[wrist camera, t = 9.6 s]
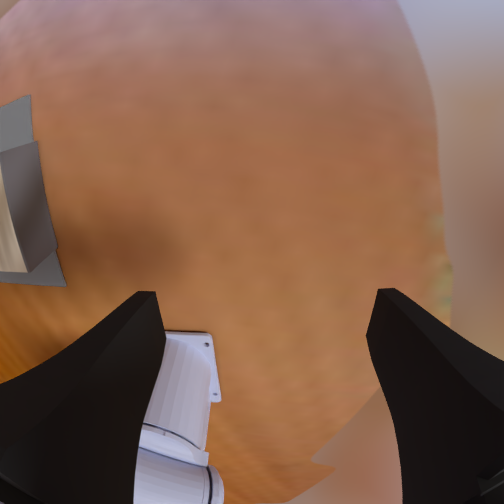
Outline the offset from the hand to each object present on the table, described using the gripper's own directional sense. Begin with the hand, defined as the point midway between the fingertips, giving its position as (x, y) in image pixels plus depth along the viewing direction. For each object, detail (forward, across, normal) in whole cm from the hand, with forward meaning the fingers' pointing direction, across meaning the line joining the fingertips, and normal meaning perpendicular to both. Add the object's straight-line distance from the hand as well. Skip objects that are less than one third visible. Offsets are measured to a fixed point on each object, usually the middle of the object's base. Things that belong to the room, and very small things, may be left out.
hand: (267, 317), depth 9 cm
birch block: (+8, +16, -2) cm, 18 cm away
